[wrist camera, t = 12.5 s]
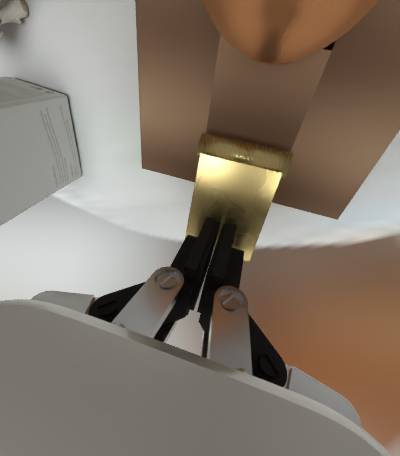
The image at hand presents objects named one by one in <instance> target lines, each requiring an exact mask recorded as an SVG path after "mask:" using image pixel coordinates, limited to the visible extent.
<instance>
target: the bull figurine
mask: <svg viewBox="0 0 400 456" xmlns="http://www.w3.org/2000/svg"><path fill="white" fill-rule="evenodd" d="M28 13H29V12H28V7H27V5H26V3H25V2H24V1H23V0H11V1H10V2H9V3H8V4H7V5H6V6H5V7H3V8H1V9H0V25H1V24H4V23H7V22H15V23H17V24H21V21H20V18H23V17H28ZM3 36H4V35H3V32H2V31H1V30H0V38H2V37H3Z"/></svg>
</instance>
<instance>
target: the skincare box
mask: <svg viewBox="0 0 400 456" xmlns="http://www.w3.org/2000/svg"><path fill="white" fill-rule="evenodd" d="M81 176H82V173H81V168H80V163H79V158H78V152H77V147H76V142H75V136H74V131H73V126H72V120H71V115H70V110H69V104H68V98H67V96H66V95H64V94H61V93H58V92H55V91H52V90H49V89H46V88H43V87H39V86H36V85H34V84H31V83H27V82H24V81H21V80H18V79H14V78H11V77H0V225H2V224H4V223H6V222H7V221H9V220H11V219H12V218H14V217H15V216H17V215H19V214H20V213H22V212H23V211H25V210H27V209H28V208H30V207H32V206H33V205H35V204H37V203H38V202H40V201H41V200H43V199H44V198H46V197H48V196H50V195H51V194H53V193H55V192H56V191H58V190H59V189H61V188H63V187H64V186H66V185H68V184H69V183H71V182H72V181H74V180H76V179H77V178H79V177H81Z"/></svg>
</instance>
